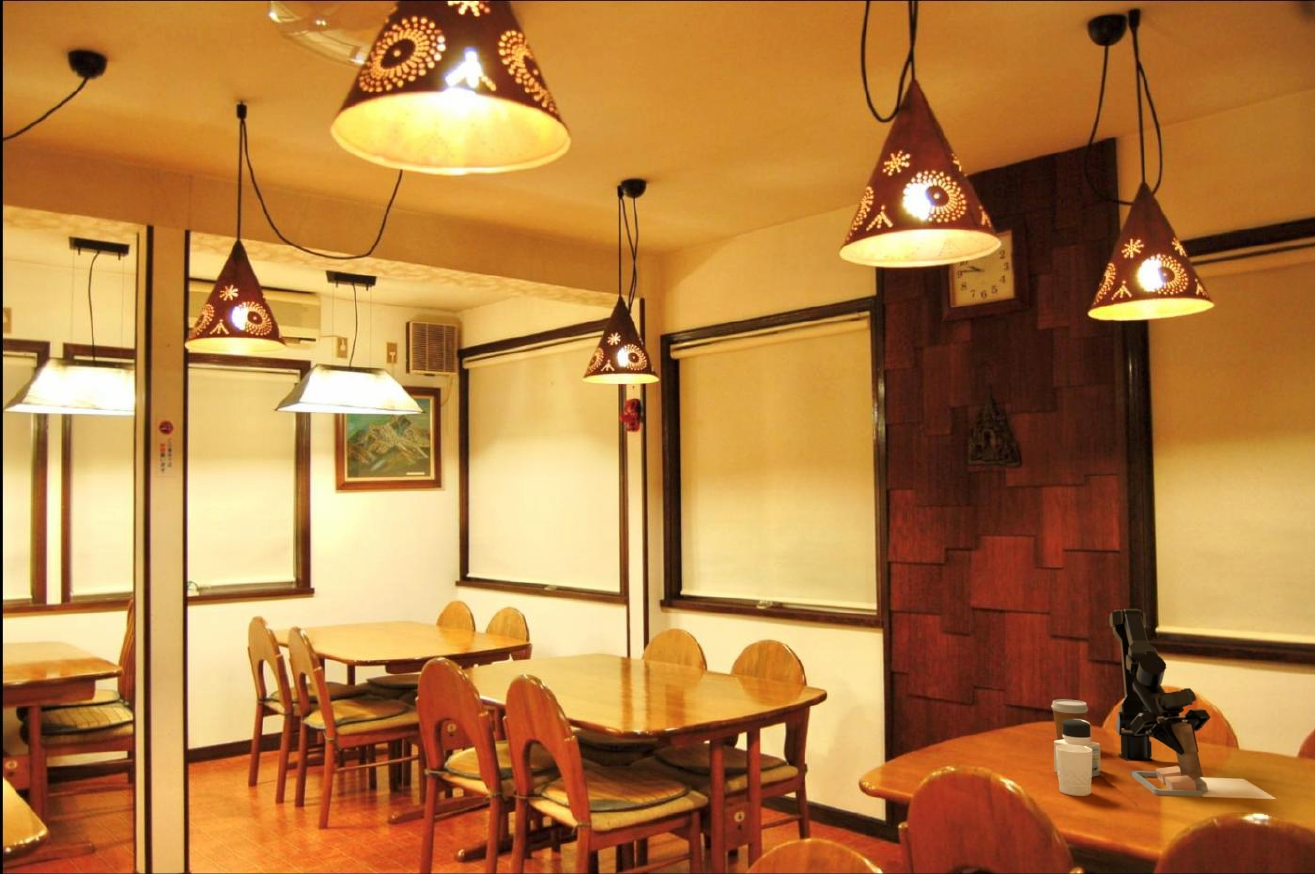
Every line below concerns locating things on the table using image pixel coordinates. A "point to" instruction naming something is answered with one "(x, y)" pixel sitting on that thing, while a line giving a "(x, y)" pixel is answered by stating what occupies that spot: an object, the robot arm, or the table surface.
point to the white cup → (1074, 769)
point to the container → (1079, 741)
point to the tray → (1139, 776)
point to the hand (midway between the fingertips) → (1189, 753)
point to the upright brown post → (1189, 755)
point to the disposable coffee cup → (1067, 713)
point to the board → (1233, 789)
